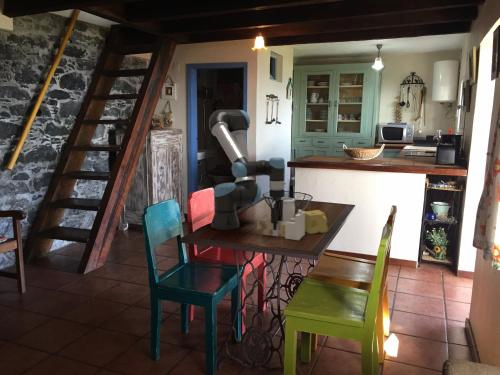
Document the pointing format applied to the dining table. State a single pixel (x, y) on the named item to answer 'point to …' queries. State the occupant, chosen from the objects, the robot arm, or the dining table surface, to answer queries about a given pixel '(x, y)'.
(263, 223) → the rail
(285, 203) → the white cup
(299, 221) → the white u-channel bracket
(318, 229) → the cheese
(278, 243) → the dining table surface
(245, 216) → the dining table surface
